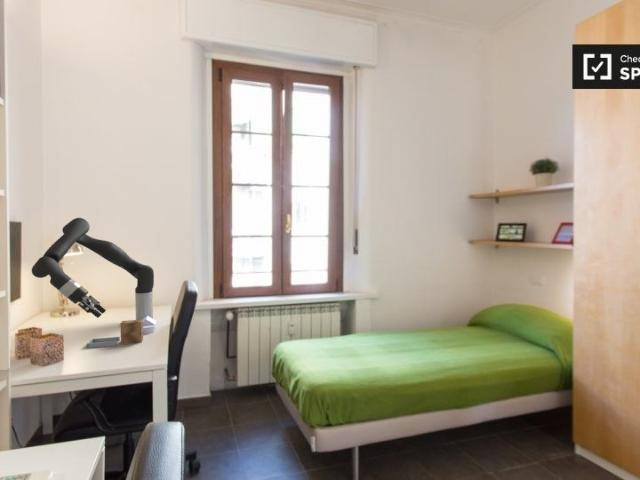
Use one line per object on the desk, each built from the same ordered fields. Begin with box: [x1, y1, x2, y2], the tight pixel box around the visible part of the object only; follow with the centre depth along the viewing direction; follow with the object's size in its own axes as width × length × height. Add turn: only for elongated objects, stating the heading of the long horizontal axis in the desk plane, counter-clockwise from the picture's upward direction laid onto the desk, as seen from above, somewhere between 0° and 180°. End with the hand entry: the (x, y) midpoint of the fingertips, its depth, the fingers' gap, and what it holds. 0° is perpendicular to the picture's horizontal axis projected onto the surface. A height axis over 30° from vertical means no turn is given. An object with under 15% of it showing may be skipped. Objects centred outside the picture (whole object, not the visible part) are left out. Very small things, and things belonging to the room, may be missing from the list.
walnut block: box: [119, 319, 144, 345], centre depth 182 cm, size 9×5×10 cm, turn 107°
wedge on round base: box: [143, 316, 157, 335], centre depth 201 cm, size 9×7×13 cm
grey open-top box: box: [86, 336, 121, 349], centre depth 178 cm, size 12×8×2 cm, turn 107°
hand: (102, 314), depth 178 cm, fingers open, 8 cm apart
